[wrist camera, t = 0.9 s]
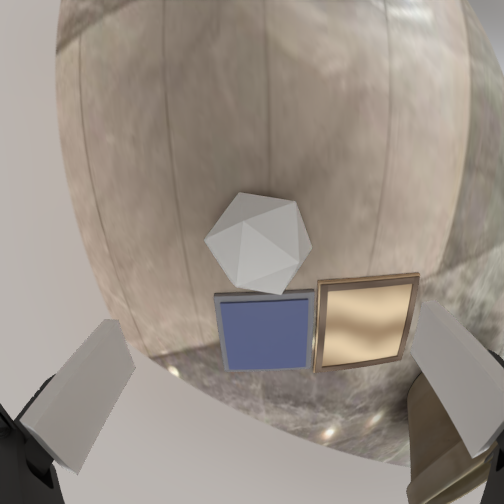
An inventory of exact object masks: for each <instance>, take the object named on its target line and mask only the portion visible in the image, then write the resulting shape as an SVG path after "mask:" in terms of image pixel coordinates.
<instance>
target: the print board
mask: <svg viewBox="0 0 504 504" xmlns="http://www.w3.org/2000/svg"><path fill="white" fill-rule="evenodd" d="M419 278H420V274H419V273H408V274H397V275H386V276H374V277H362V278H348V279H334V280H319V281H318V294H317V317H316V335H315V349H314V362H313V373H314V372H315V373H319V372H328V371H337V370H345V369H352V368H359V367H366V366H372V365H378V364H383V363H389V362H394V361H399V360H401V359H402V356H403V352H404V349H405V345H406V341H407V337H408V333H409V329H410V325H411V321H412V316H413V311H414V307H415V301H416V296H417V291H418V285H419Z"/></svg>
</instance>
